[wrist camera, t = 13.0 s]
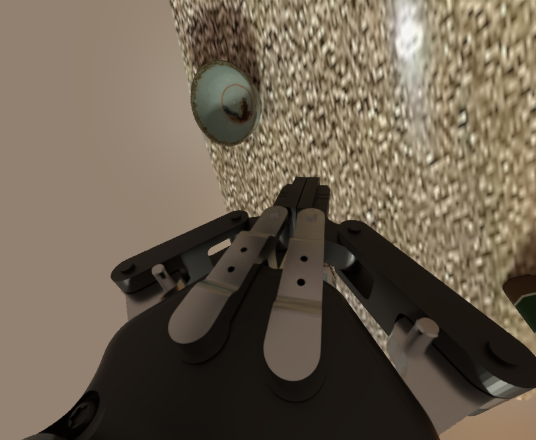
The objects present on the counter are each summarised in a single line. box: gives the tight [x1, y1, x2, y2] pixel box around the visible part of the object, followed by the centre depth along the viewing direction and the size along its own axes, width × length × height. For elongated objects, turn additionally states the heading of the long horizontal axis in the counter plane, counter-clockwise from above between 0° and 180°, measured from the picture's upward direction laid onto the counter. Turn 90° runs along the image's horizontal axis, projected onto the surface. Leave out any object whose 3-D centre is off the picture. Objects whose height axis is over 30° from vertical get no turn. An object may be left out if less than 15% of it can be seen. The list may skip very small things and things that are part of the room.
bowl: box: [191, 60, 261, 147], centre depth 40 cm, size 14×13×8 cm
